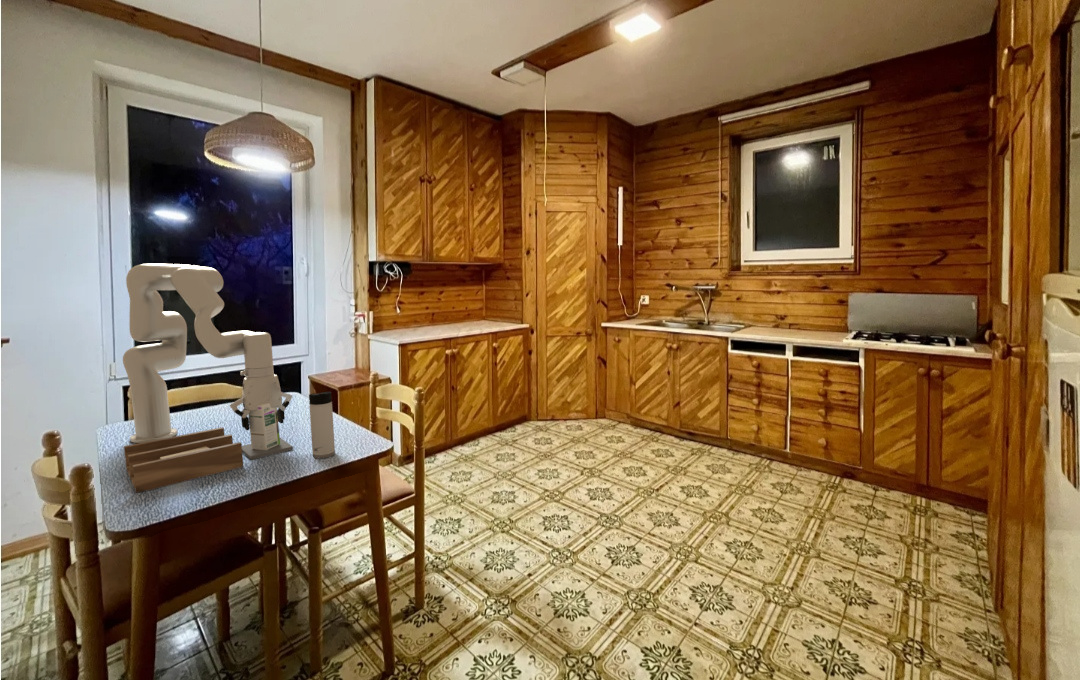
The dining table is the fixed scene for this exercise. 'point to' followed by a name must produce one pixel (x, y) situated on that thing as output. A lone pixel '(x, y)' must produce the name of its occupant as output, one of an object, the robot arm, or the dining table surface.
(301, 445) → the dining table surface
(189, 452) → the upper offcut
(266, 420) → the syrup box
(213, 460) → the walnut rack
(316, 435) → the travel mug
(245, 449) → the rubber mat
